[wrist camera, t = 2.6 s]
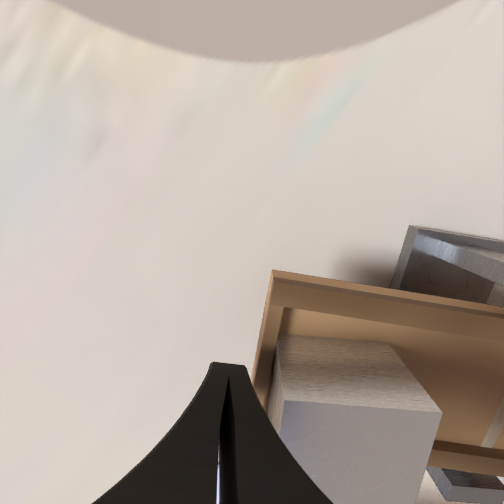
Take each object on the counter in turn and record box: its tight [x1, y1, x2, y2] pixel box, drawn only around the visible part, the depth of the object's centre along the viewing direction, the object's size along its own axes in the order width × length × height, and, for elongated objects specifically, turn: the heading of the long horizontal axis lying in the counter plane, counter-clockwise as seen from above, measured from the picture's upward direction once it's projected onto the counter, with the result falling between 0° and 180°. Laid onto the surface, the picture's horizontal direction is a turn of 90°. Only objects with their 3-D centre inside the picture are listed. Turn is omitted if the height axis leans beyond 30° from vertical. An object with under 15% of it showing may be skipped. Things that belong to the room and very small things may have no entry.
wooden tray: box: [251, 270, 504, 477], centre depth 14 cm, size 9×24×2 cm, turn 81°
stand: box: [390, 225, 504, 504], centre depth 17 cm, size 13×6×8 cm, turn 171°
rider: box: [266, 333, 443, 504], centre depth 12 cm, size 4×5×4 cm
